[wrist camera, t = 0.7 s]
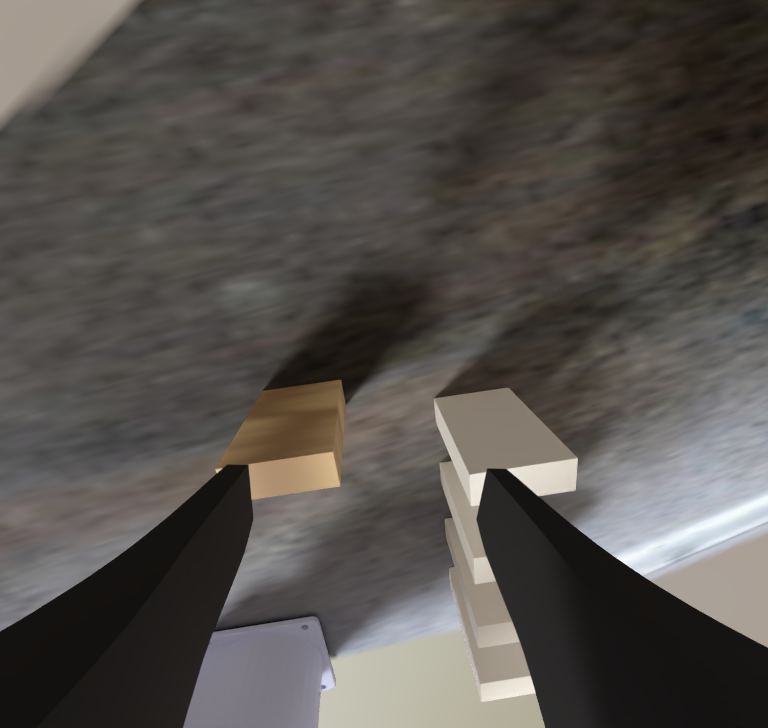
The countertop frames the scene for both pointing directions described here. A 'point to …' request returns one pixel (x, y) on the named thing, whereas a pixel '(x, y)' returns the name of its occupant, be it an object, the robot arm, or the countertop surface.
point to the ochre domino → (292, 440)
